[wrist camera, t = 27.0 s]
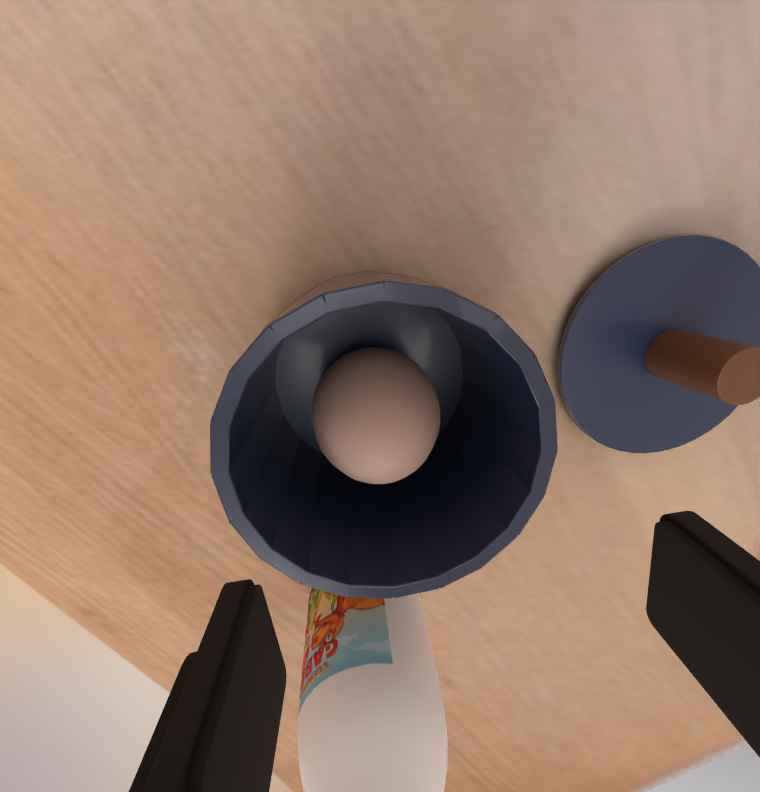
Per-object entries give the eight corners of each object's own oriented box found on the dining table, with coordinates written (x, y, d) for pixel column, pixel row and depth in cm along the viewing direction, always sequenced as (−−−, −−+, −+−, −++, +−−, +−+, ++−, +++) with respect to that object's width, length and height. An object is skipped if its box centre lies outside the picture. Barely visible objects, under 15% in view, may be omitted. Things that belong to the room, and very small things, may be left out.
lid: (733, 190, 25) (866, 167, 18) (774, 385, 29) (892, 420, 23) (520, 309, 26) (577, 325, 20) (591, 478, 31) (656, 536, 24)
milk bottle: (414, 525, 31) (529, 955, 12) (409, 606, 33) (498, 1069, 14) (310, 528, 30) (254, 991, 11) (313, 610, 32) (271, 1104, 13)
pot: (414, 229, 24) (473, 205, 13) (502, 412, 28) (601, 508, 17) (222, 341, 25) (130, 405, 14) (335, 501, 29) (330, 644, 18)
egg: (424, 333, 25) (470, 375, 16) (420, 433, 28) (458, 520, 18) (314, 334, 25) (297, 378, 16) (319, 436, 27) (306, 527, 18)
